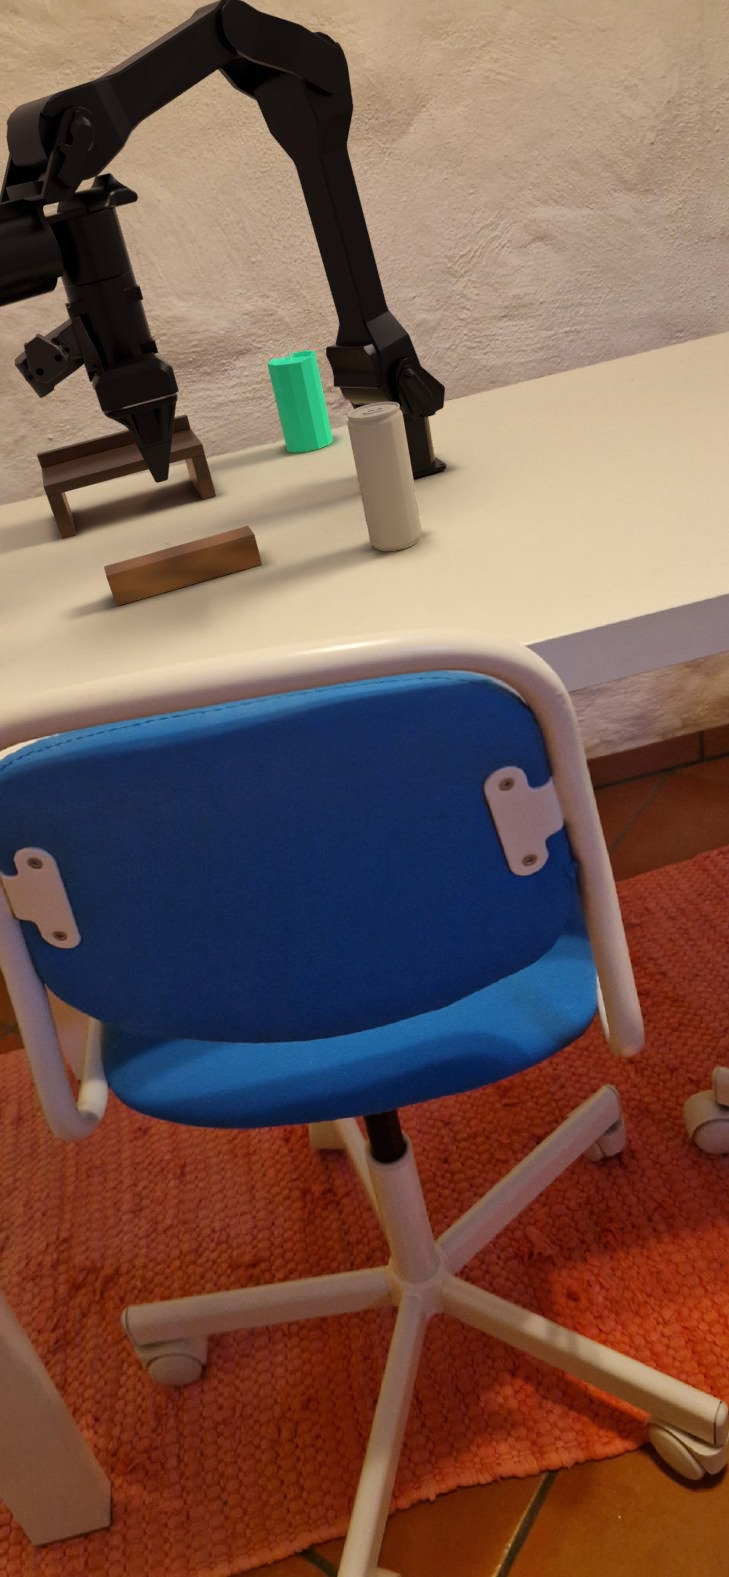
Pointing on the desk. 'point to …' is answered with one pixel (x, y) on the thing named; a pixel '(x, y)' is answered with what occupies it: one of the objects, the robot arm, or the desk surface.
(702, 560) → the desk surface
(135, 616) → the desk surface
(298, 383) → the candle
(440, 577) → the desk surface
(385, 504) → the beverage can
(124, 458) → the shelf
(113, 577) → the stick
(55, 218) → the robot arm
